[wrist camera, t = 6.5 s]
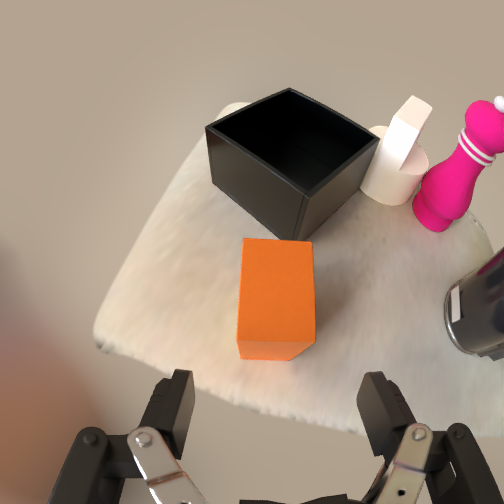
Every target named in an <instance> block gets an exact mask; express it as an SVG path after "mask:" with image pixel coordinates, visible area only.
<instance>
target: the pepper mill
mask: <svg viewBox="0 0 504 504" xmlns="http://www.w3.org/2000/svg"><path fill="white" fill-rule="evenodd" d="M465 122H466V127H464V128H462V130H461V133H460V134H459V135H458V140H459V143H458V146H457V148H456V150H455V151H454V153H453V154H452V155H451V156H450V157H449V158H448V159H446V160H445V161H443V162H441V163H439V164H437V165H435V166H434V167H432V168H431V169H430V170H429V171H428V172H427V173H426V174H425V176H424V177H423V179H422V183H421V190H420V191H419V192H418V193H417V195H416V196H415V198H414V200H413V210H414V213H415V215H416V217H417V218H418V220H419V221H420V222H421V223H422V224H423V225H424V226H425V227H426V228H428V229H430V230H432V231H435V232H442V231H444V230H446V229H447V228H448V227H449V225H450V224H451V223H452V222H453V220H455V219H459V218H461V217H462V216H463V215H464V214H465V212H466V211H467V209H468V208H469V205H470V203H471V200H472V195H473V190H474V186H475V182H476V179H477V177H478V175H479V174H480V172H481V171H482V170H483V169H484V168H485V167H486V166H487V167H489V166H491V165H492V162H493V161H494V160H495V159H496V153H502V152H504V97H502V96H497V97H496V98H495V100H494V104H492V103H490V102H488V101H482V100H479V101H476V102H473V103H472V104H471V105H470V106H469V107H468V109H467V111H466V114H465Z"/></svg>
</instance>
